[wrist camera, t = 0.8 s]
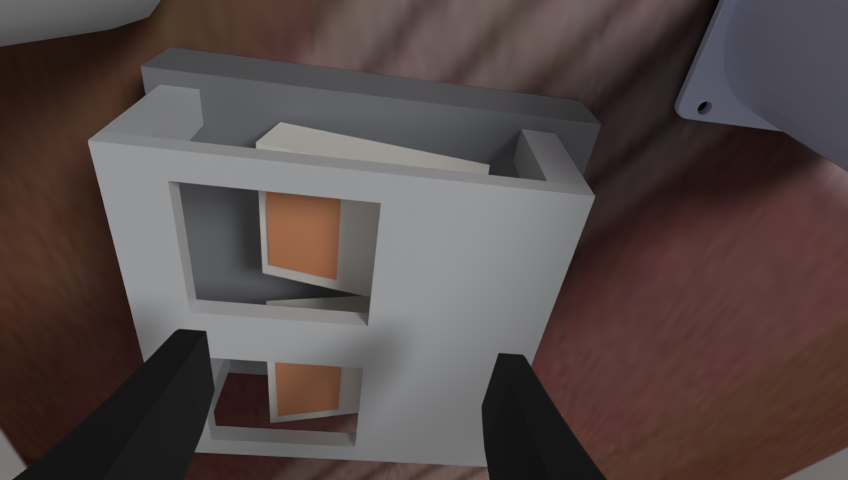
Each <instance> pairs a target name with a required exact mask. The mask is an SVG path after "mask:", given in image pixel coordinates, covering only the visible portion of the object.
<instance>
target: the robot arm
mask: <svg viewBox="0 0 848 480" xmlns="http://www.w3.org/2000/svg"><path fill="white" fill-rule="evenodd" d="M706 101H707V104H706V106H705V108H704V109H703V110H701V111H697V110H698V107H699V105H700V104H701V103H703V102H706ZM675 111H676V113H677V114H678V115H679V116H681V117H682V118H685V119H691V120H698V121H706V122H714V123H721V124H729V125H737V126H744V127H752V128H760V129H768V130H775V131H783V132H785V133H786V134H788V135H789V136H791V137H793V138H794V139H796V140H797V141H799V142H801V143H802V144H804V145H805V146H807V147H809V148H810V149H812V150H813V151H815V152H817V153H818V154H820V155H821V156H823V157H825V158H826V159H828V160H829V161H831V162H833V163H834V164H836V165H837V166H839V167H841V168H842V169H844V170H845V171H847V172H848V0H719V2H718V5H717V7H716V9H715V12H714V14H713V16H712V19H711V21H710V23H709V26H708V28H707V30H706V33H705V35H704V37H703V40H702V42H701V44H700V46H699V49H698V51H697V53H696V56H695V58H694V60H693V63H692V65H691V67H690V70H689V72H688V74H687V77H686V79H685V81H684V84H683V86H682V88H681V91H680V93H679V95H678V97H677V100H676V102H675ZM214 391H215V387H214V380H213V373H212V366H211V359H210V353H209V346H208V339H207V332H206V331H202V330H189V329H177V330H176V331H175V332H173V334H172V335H171V336H170V337H169V338H168V339H167V340H166V341H165V342H164V343H163V344H162V345H161V346H160V347H159V348H158V349H157V350H156V351H155V352H154V353H153V354H152V355H151V356H150V357H149V358H148V359H147V360H146V361H145V363H144V364H143V365H142V366H141V367H140V368H139V369H138V370H137V371H136V372H135V373H134V374H133V375H132V376H131V377H130V378H129V379H128V380H126V381H125V382H124V383H123V384H122V385H121V386H120V387H119V388H118V389H117V390H116V391H115V392H114V393H113V394H112V395H111V396H110V397H109V398H108V399H107V400H106V401H105V402H103V403H102V404H101V405H100V406H99V407H98V408H97V409H96V410H95V411H94V412H93V413H92V414H90V415H89V416H88V417H87V418H86V419H85V420H84V421H83V422H81V423H80V424H79V425H78V426H77V427H76V428H75V429H73V430H72V431H71V432H70V433H69V434H68V435H67V436H65V437H64V438H63V439H62V440H61V441H60V442H59V443H57V444H56V445H55V446H54V447H53V448H51V449H50V450H49V451H48V452H47V453H45V454H44V455H43V456H42V457H41V458H39V459H38V460H37V461H36V462H34V463H33V464H32V465H31V466H29V467H28V468H27V469H26V470H24V471H23V472H22V473H20V474H19V475H18V476H17V477H15V478H14V479H13V480H183V479H184V476H185V474H186V471H187V469H188V467H189V464H190V462H191V460H192V457H193V455H194V452H195V450H196V448H197V445H198V443H199V440H200V438H201V435H202V433H203V429H204V426H205V423H206V419H207V416H208V413H209V409H210V406H211V402H212V398H213V395H214ZM481 410H482V427H483V440H484V450H485V456H486V462H487V467H488V472H489V478H490V480H607V479H606V478H605V476H604V475H603V474H602V472H601V471H600V470H599V468H598V467H597V466H596V464H595V463H594V462H593V460H592V459H591V458H590V456H589V455H588V454H587V452H586V451H585V449H584V448H583V447H582V445H581V444H580V442H579V441H578V440H577V438H576V437H575V435H574V434H573V432H572V431H571V429H570V428H569V426H568V425H567V423H566V422H565V420H564V419H563V417H562V416H561V414H560V413H559V411H558V410H557V408H556V407H555V405H554V403H553V402H552V400H551V399H550V397H549V395H548V394H547V392H546V391H545V389H544V387H543V386H542V384H541V382H540V381H539V379H538V377H537V376H536V374H535V372H534V371H533V369H532V367H531V365H530V364H529V362H528V360H527V359H526V357H525V356H524V355H522V354H508V353H498V356H497V360H496V363H495V366H494V369H493V372H492V375H491V378H490V381H489V384H488V387H487V391H486V394H485V397H484V400H483V403H482V406H481Z"/></svg>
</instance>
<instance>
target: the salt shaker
mask: <svg viewBox="0 0 848 480" xmlns="http://www.w3.org/2000/svg"><path fill="white" fill-rule="evenodd" d="M160 1H161V0H0V47H1V46H8V45H14V44H20V43H27V42H33V41H40V40H46V39H53V38H59V37H66V36H72V35H78V34H85V33H91V32H98V31H104V30H110V29H113V28H116V27H119V26H122V25H126V24H129V23H132V22H135V21H138V20H141V19H144V18H147V17H149V16H150V15H151V13H152V12H153V10H154V9H155V8H156V6H157V5H158V3H159V2H160Z"/></svg>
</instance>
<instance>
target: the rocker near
mask: <svg viewBox="0 0 848 480" xmlns="http://www.w3.org/2000/svg"><path fill="white" fill-rule="evenodd" d="M256 149H264V150H273V151H282V152H291V153H300V154H309V155H317V156H326V157H335V158H344V159H353V160H362V161H371V162H380V163H389V164H398V165H406V166H415V167H424V168H433V169H442V170H451V171H460V172H469V173H478V174H486V175H488V173H489V167H490V165H488V164H483V163H478V162H473V161H468V160H463V159H458V158H453V157H448V156H444V155H439V154H434V153H429V152H424V151H419V150H414V149H409V148H405V147H400V146H395V145H390V144H385V143H380V142H375V141H370V140H366V139H361V138H356V137H351V136H346V135H341V134H336V133H331V132H327V131H322V130H317V129H312V128H307V127H302V126H297V125H292V124H287V123H283V122H280V123H279V124H278V125H276V126H275V127H274V128H273V129H272V130H270V131H269V132H268V133H267V134H266V135H264V136H263V137H262V138H261V139H259V140H258V141H257V142H256ZM258 194H259V213H260V232H261V251H262V270H263V273H265V274H269V275H274V276H278V277H283V278H287V279H291V280H296V281H300V282H305V283H309V284H313V285H318V286H322V287H327V288H331V289H335V290H340V291H344V292H349V293H353V294H357V295H362V296H366V297H371V289H372V280H373V270H374V261H375V251H376V242H377V232H378V223H379V213H380V204H381V203H376V202H366V201H356V200H347V199H337V198H327V197H318V196H308V195H299V194H289V193H279V192H270V191H260V190H258Z"/></svg>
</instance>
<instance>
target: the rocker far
mask: <svg viewBox="0 0 848 480" xmlns="http://www.w3.org/2000/svg"><path fill="white" fill-rule="evenodd" d="M370 299H371V297H366V296H349V297H330V298H312V299H294V300H276V301H266V305H271V306H284V307H296V308H308V309H321V310H333V311H346V312H358V313H369V308H370ZM267 367H268V386H269V405H270V423H276V422H285V421H293V420H302V419H310V418H318V417H327V416H335V415H344V414H352V413H359V403H360V394H361V384H362V375H363V368H352V367H337V366H323V365H308V364H294V363H279V362H267Z"/></svg>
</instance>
